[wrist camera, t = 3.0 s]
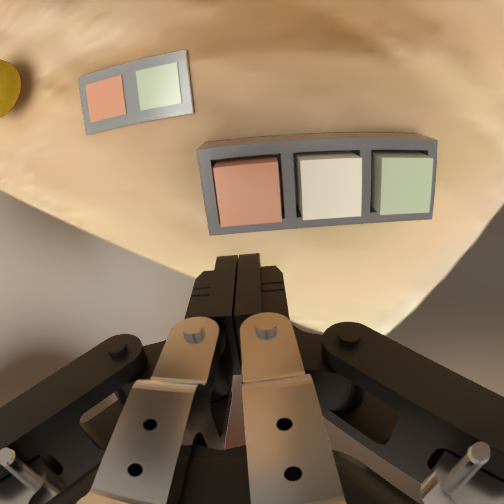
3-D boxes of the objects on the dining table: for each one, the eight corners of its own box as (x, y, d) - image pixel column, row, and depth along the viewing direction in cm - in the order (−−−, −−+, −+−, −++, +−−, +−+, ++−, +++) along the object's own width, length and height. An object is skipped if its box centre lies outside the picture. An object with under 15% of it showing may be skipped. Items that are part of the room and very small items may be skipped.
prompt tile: (81, 77, 21) (76, 77, 20) (187, 50, 20) (184, 49, 20) (89, 134, 23) (85, 135, 22) (194, 113, 23) (192, 113, 22)
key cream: (295, 153, 22) (300, 160, 19) (351, 151, 21) (361, 157, 19) (298, 208, 23) (303, 220, 21) (351, 204, 23) (361, 216, 21)
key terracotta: (217, 160, 22) (213, 168, 20) (275, 155, 22) (277, 161, 20) (224, 214, 24) (221, 227, 22) (279, 209, 23) (281, 221, 21)
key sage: (369, 151, 21) (381, 157, 19) (418, 151, 21) (433, 158, 19) (369, 203, 23) (380, 215, 21) (415, 201, 23) (429, 212, 21)
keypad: (204, 142, 24) (196, 149, 20) (416, 133, 23) (437, 140, 20) (214, 217, 26) (209, 235, 23) (413, 204, 26) (431, 219, 22)
